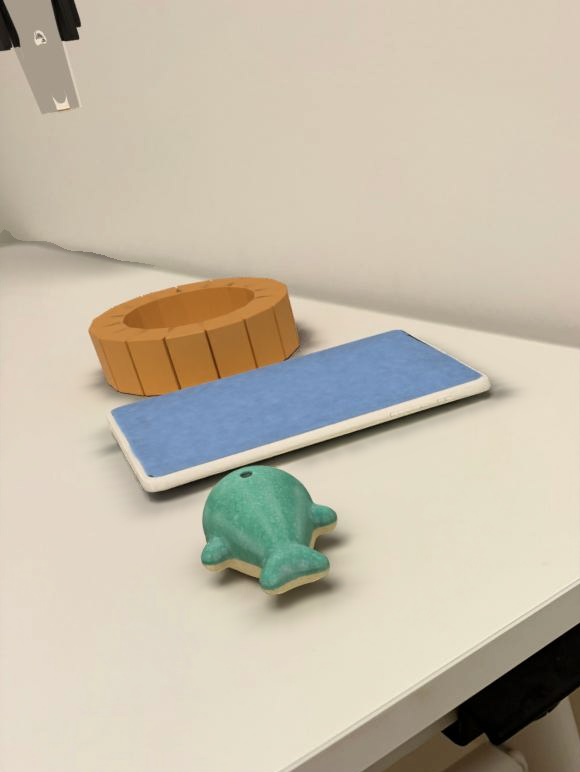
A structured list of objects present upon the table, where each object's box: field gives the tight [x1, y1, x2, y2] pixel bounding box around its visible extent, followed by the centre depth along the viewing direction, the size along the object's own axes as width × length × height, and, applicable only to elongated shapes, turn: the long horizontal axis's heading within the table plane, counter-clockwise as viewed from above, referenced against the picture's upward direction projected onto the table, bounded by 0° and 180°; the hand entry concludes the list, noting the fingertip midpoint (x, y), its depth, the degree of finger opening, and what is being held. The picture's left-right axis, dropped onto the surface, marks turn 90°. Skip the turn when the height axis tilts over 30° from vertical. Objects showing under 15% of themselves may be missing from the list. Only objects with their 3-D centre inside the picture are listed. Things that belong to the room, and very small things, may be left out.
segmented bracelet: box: [87, 276, 301, 397], centre depth 62 cm, size 13×13×4 cm
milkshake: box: [0, 0, 83, 115], centre depth 73 cm, size 4×5×10 cm
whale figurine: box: [200, 465, 338, 596], centre depth 37 cm, size 6×7×4 cm
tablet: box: [106, 329, 492, 493], centre depth 52 cm, size 19×13×1 cm, turn 118°
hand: (37, 42), depth 73 cm, fingers closed on milkshake, 4 cm apart
